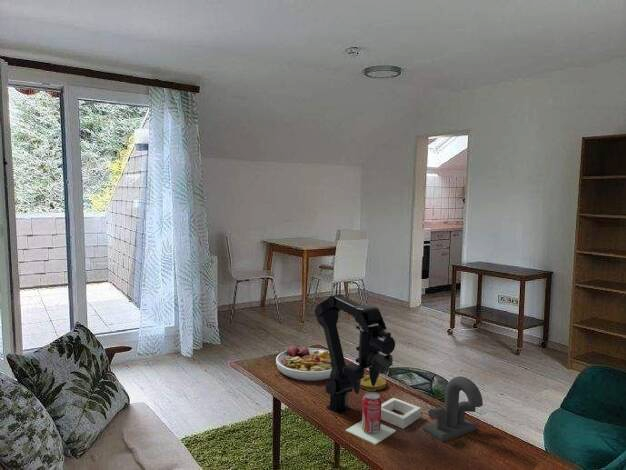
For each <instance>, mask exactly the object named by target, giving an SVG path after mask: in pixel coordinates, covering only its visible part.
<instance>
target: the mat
mask: <svg viewBox="0 0 626 470" xmlns="http://www.w3.org/2000/svg"><path fill="white" fill-rule="evenodd" d="M345 432H347V433H348V434H352V435H353V436H355V437H358V438H360V439H361V440H363V441H366V442H368V443H370V444H372V445H374V446H376V445H377V444H380V442H382V441H383V440H386V438H388V437H390V436H391V435H393V434H394V433H396V432H397V430H396V429H394V428H392V427H389V426H388V425H385V424H383V423H381V425H380V431H378V432H376V433H367V432H366V431H364V430H363V429H362V420H360V421H359V422H357V423H355V424H353V425H351V426H350V427H348V428H346V429H345Z"/></svg>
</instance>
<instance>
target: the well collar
mask: <svg viewBox="0 0 626 470" xmlns="http://www.w3.org/2000/svg"><path fill="white" fill-rule="evenodd" d="M393 410H394V411H398V412H399V413H403V414H402V415H401V414H398V413H396V412H394V411H393ZM421 410H422V407H419V406H417V405H415V404H413V403H412V404H411V403H409V402H406V401H404V400H402V399H401V400H400V399H398V398H395V397H392V398H390V399H388V400H386V401H385V402H383V403H382V404H381V421H384V422H386V423H387V424H388V423H389V424H391V425H393V426H396V427H399V428H400V429H405V428H406V427H408V426H410V425H411V424H413V423H414V422H415V421H417V420H419V419H420V418H421Z"/></svg>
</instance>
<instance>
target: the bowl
mask: <svg viewBox="0 0 626 470" xmlns="http://www.w3.org/2000/svg"><path fill="white" fill-rule="evenodd" d="M275 363H276V368H277V369H278V370H279V372H280V373H282V375H285V376H286V377H289V378H291V379H294V380H299V381H307V382H309V381H310V382H311V381H315V382H317V381H324V380H328V379H330V373H331V370H332V364H331V359H330V355H329V350H328V349H324V348H314V347H306V346H305V345H303V346H300V347H298V346H297V345H290V346H288V348H287V350H285V351H282V352H280V353H279V354H278V355H277V356H276V358H275Z"/></svg>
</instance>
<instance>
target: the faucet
mask: <svg viewBox="0 0 626 470" xmlns="http://www.w3.org/2000/svg"><path fill="white" fill-rule="evenodd" d="M461 391H462V392H463V393H464V394H465V395H466V397H467V400H464V401H460V392H461ZM483 405H484V401H483V397H482V393H481V391H480V389H479V387H478V386H477V385H476V383H474V381H472V379H470V378H468V377H465V376H455V377H453V378H451V379H450V380H449V382H447V384H446V388H445V397H444V408H443V407H434V408H430V409H429V410H428V416H429V418H430V420H432V421H434V420H436V422H434V423H431V424H429V425H425V426H423V427H422V431H423V432H424V433H426V434H428V435H429V436H431V437H432V438H434V439H435V440H437V441H439V442H441V443H444V442H447V441H449V440H453V439H455V438H457V437H460V436H463V435H465V434H468V433H470V432H474V431H477V430H478V425H477V424H475V423H473V422H472V421H470V420H468V419H466V418H465V415H466V412H471V413H475V412H476V408H481V407H483Z"/></svg>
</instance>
